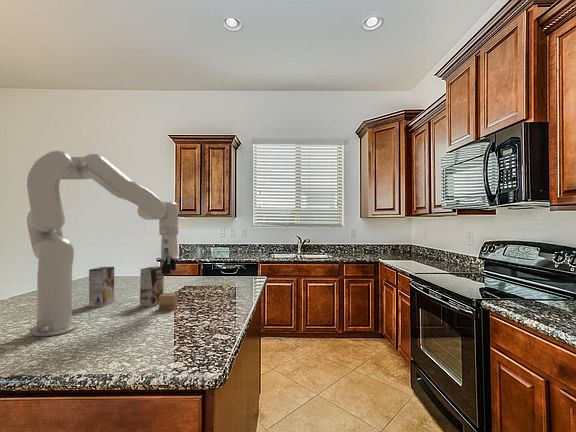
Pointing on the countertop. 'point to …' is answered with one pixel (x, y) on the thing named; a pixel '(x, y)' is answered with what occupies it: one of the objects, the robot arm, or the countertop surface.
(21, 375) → the countertop surface
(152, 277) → the coffee box
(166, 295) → the tan cube
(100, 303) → the coffee box
